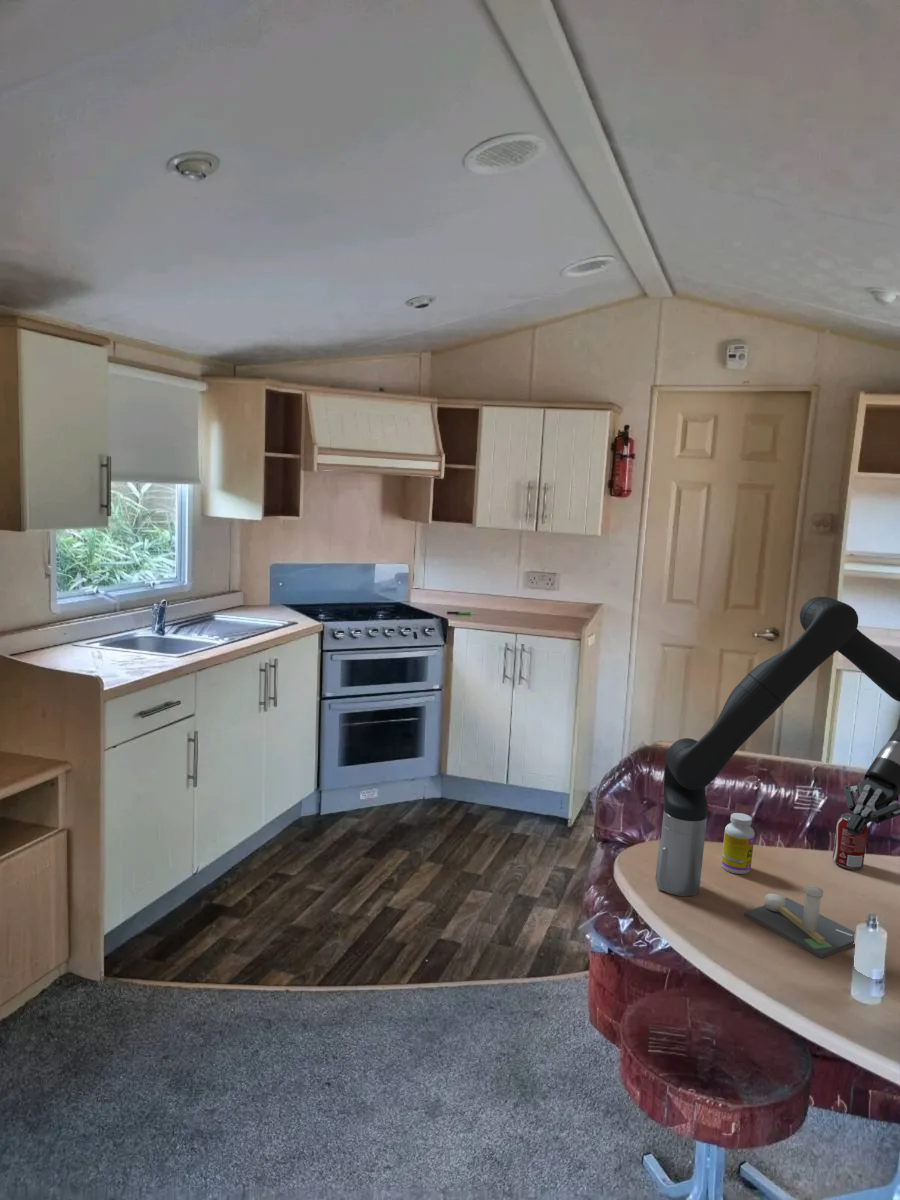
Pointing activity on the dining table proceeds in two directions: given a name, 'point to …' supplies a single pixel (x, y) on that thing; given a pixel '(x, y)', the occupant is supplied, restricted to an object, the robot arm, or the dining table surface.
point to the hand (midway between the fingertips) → (851, 832)
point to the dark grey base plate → (783, 926)
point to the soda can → (849, 845)
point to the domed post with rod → (809, 913)
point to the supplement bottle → (738, 844)
